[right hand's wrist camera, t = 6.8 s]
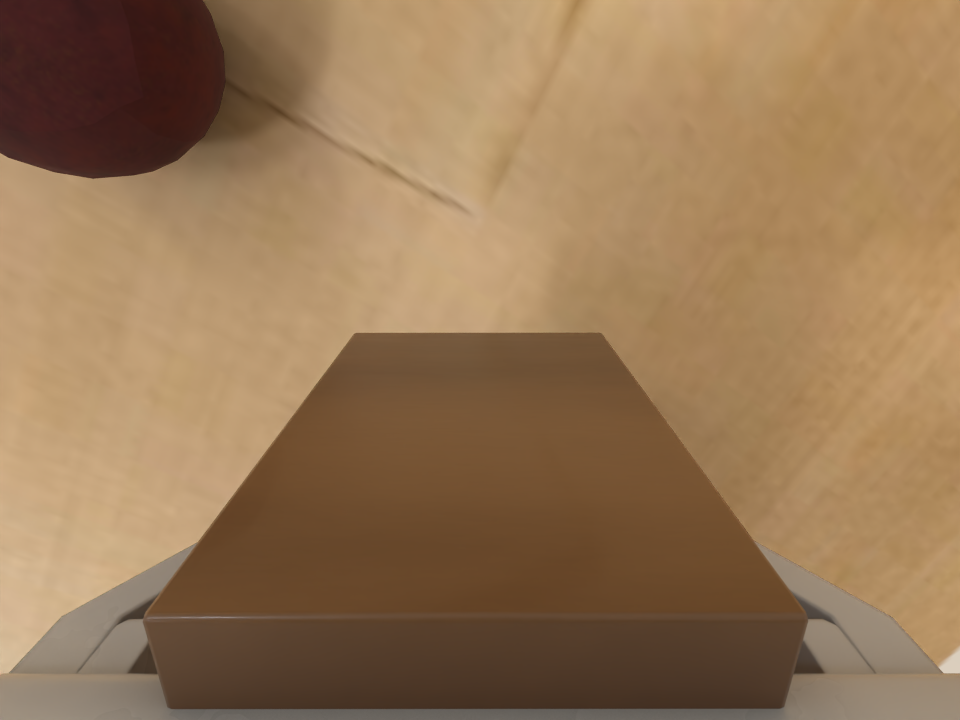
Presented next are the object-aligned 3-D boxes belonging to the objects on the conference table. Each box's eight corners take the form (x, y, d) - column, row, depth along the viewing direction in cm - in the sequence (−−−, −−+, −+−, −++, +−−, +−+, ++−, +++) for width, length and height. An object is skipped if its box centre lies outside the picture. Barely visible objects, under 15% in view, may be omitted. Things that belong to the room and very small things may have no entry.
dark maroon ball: (274, 173, 20) (169, 177, 13) (67, 178, 20) (-144, 184, 13) (238, -68, 17) (85, -217, 10) (0, -62, 17) (-304, -206, 10)
